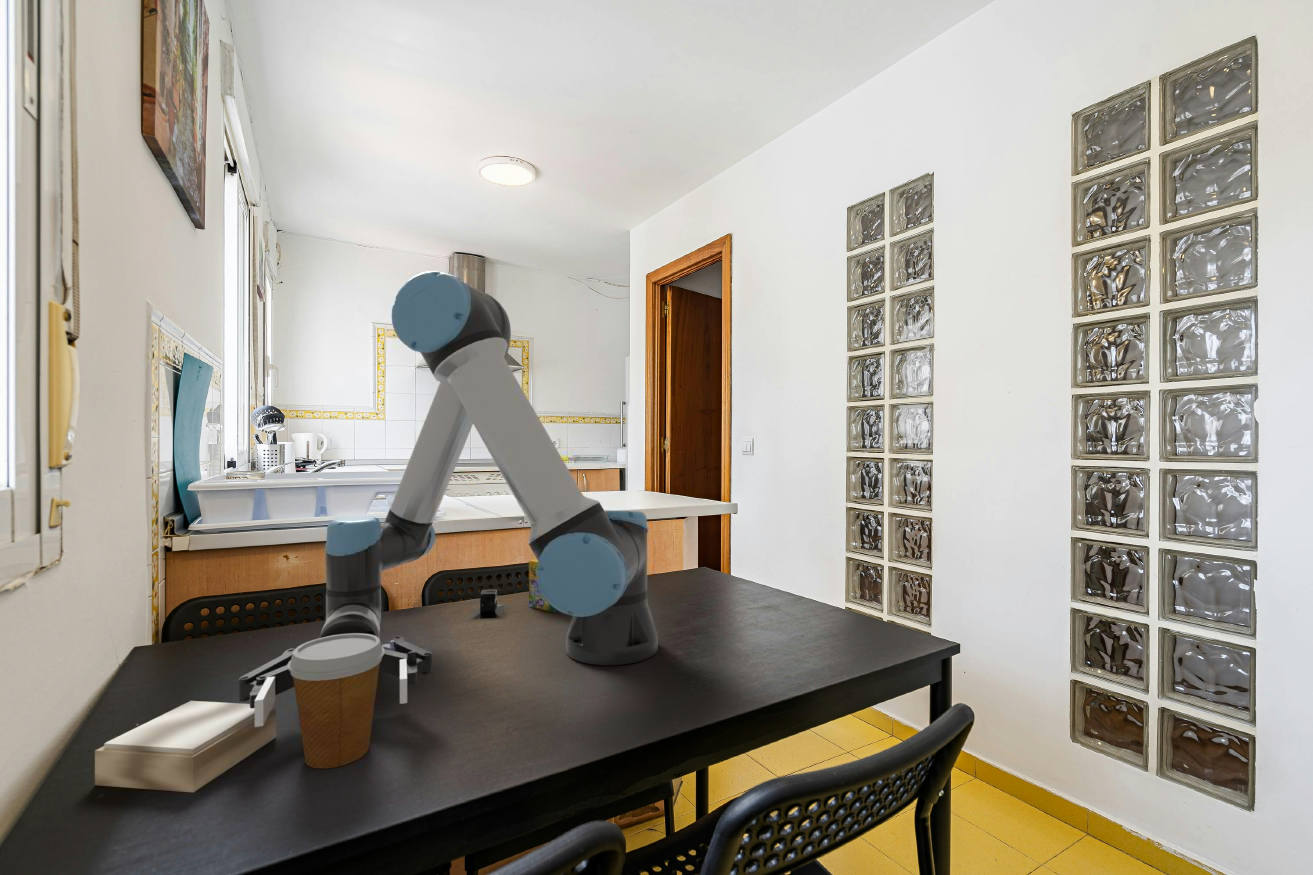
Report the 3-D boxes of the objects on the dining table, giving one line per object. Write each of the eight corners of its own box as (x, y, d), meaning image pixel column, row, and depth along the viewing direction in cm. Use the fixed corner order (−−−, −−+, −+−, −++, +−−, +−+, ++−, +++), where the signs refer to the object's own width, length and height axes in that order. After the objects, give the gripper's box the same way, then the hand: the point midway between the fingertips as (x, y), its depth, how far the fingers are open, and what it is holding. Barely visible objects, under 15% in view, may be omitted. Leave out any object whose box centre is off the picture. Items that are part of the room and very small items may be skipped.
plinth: (275, 737, 71) (275, 703, 71) (193, 792, 60) (193, 751, 60) (190, 732, 72) (190, 698, 72) (95, 784, 61) (94, 745, 61)
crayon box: (528, 607, 125) (528, 551, 125) (538, 603, 127) (538, 548, 127) (553, 613, 121) (553, 555, 121) (564, 609, 123) (564, 552, 123)
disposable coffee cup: (313, 734, 72) (313, 632, 72) (396, 731, 72) (396, 630, 72) (268, 779, 62) (268, 662, 62) (365, 775, 63) (365, 660, 63)
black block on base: (504, 622, 116) (504, 598, 116) (464, 624, 115) (464, 600, 115) (508, 604, 129) (508, 583, 129) (473, 606, 127) (473, 584, 127)
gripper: (444, 654, 89) (457, 715, 69) (242, 681, 79) (190, 761, 59) (444, 603, 89) (457, 650, 69) (242, 624, 79) (190, 685, 59)
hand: (334, 701), depth 64 cm, fingers open, 13 cm apart
